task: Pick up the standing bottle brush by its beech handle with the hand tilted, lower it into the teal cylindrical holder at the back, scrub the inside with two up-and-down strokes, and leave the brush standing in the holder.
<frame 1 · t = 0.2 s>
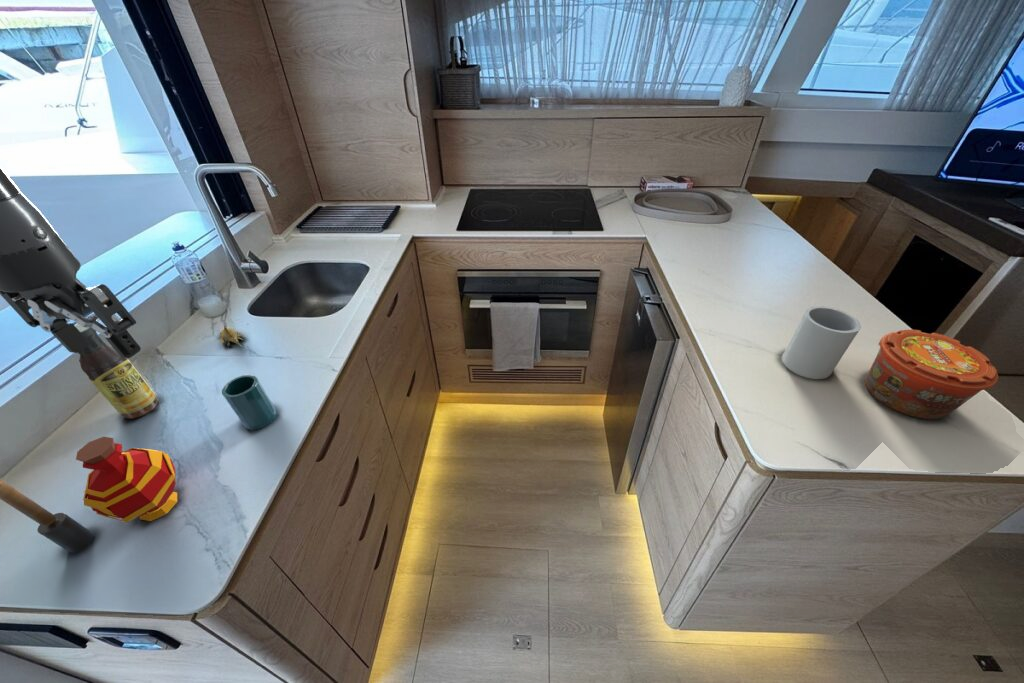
hand: (107, 351, 54), 25 cm above the worktop, tool pointing down, fingers open, 8 cm apart
potion bottle: (159, 505, 63), on the worktop
food container: (903, 395, 77), on the worktop
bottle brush: (81, 542, 59), on the worktop
cup: (805, 365, 85), on the worktop
sauce bottle: (143, 408, 81), on the worktop
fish: (236, 343, 97), on the worktop
teal cylindrical holder: (260, 418, 77), on the worktop
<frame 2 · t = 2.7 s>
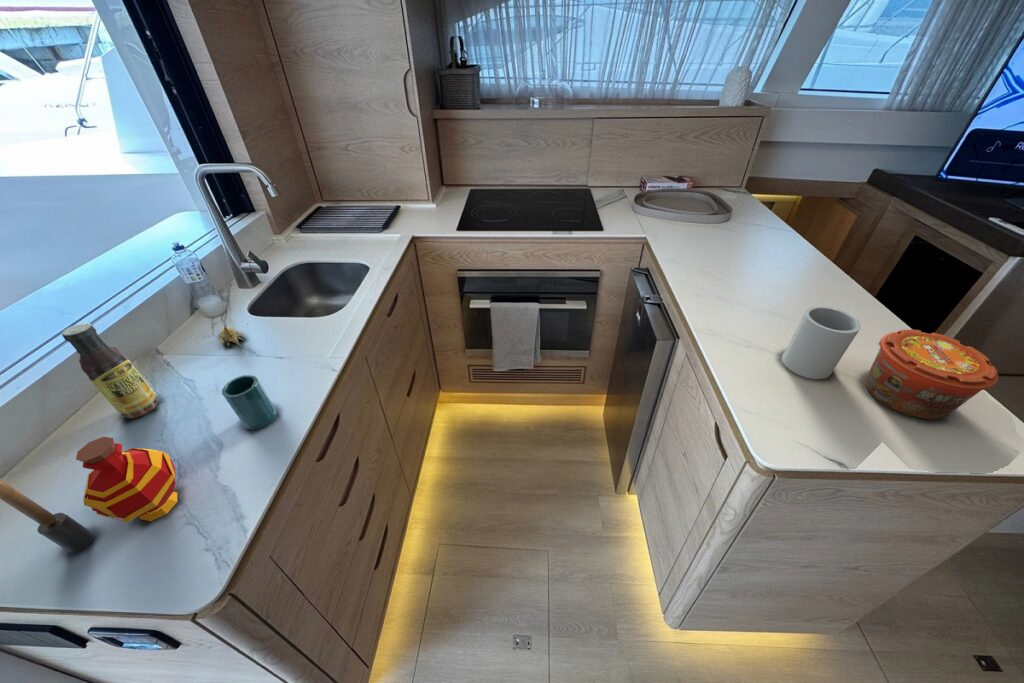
nothing on the worktop moved.
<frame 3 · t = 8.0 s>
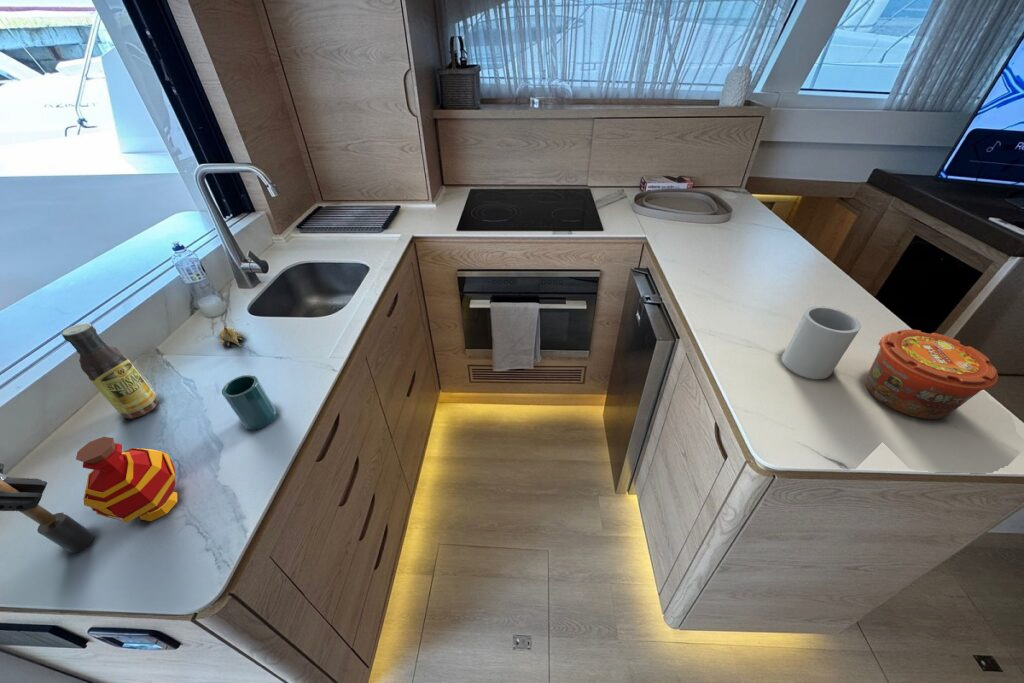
hand: (41, 494, 53), 11 cm above the worktop, tool tilted 45°, fingers closed on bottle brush
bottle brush: (81, 542, 59), on the worktop, touching gripper
everything else where it was.
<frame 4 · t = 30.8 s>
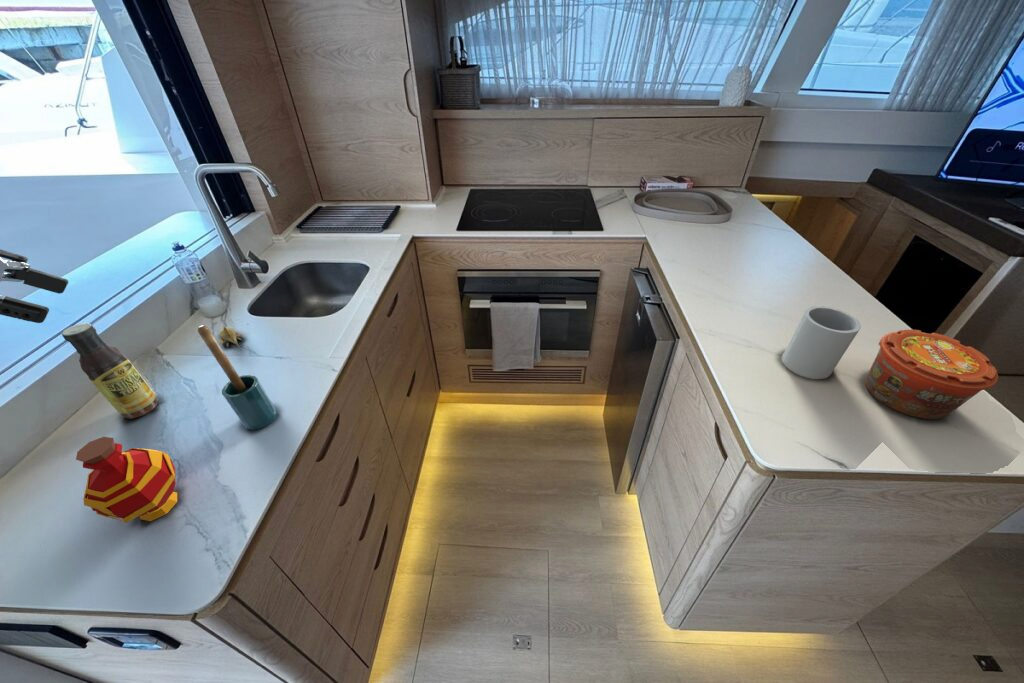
hand: (56, 300, 53), 32 cm above the worktop, tool tilted 45°, fingers open, 8 cm apart
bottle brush: (258, 415, 77), point 1 cm above the worktop, touching teal cylindrical holder
everything else where it was.
at the end: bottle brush 0.1 cm off-centre in the teal cylindrical holder, point 1.0 cm above the teal cylindrical holder's base; the gripper is holding nothing; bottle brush moved 28.1 cm from its start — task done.
